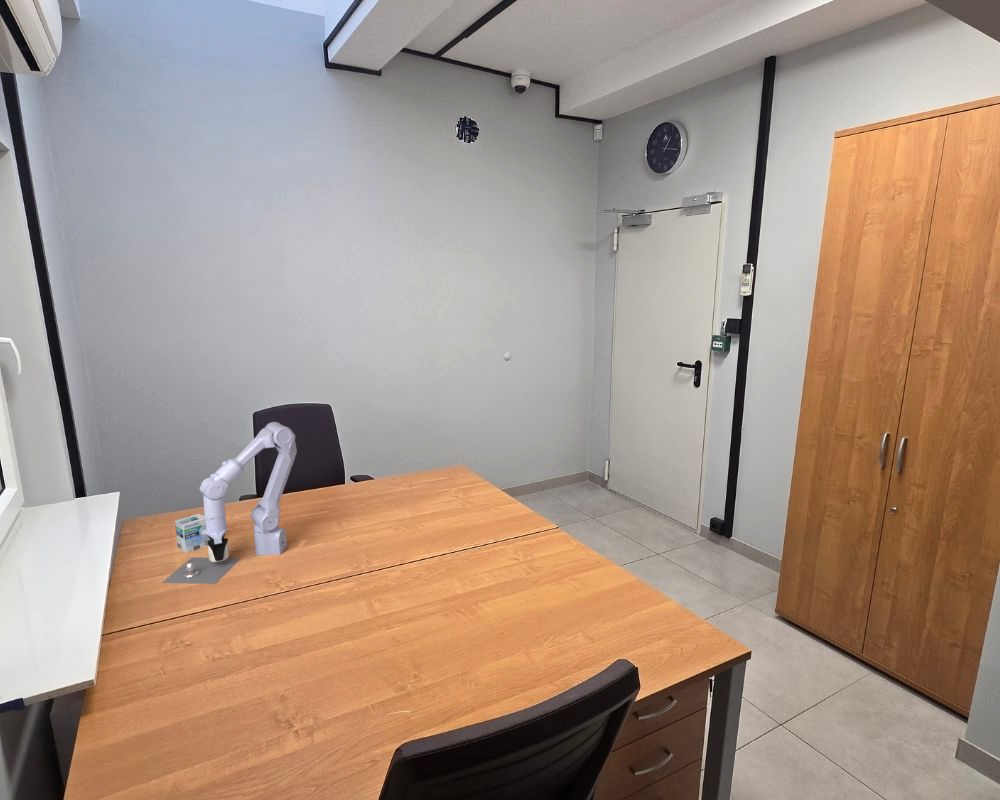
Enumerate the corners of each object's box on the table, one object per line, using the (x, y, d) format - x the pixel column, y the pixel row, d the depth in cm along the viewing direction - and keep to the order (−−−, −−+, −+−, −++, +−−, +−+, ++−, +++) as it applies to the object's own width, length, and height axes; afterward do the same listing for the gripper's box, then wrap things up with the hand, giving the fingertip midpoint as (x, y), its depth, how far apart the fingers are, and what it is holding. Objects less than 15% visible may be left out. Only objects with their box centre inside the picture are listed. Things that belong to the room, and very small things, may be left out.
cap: (231, 554, 177) (230, 541, 176) (223, 561, 172) (221, 548, 171) (215, 553, 177) (213, 540, 176) (206, 561, 172) (205, 548, 171)
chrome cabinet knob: (202, 571, 170) (201, 559, 170) (194, 578, 166) (193, 566, 165) (188, 571, 170) (186, 559, 170) (179, 578, 166) (178, 565, 165)
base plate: (241, 561, 179) (240, 558, 179) (215, 586, 163) (215, 583, 163) (191, 560, 179) (191, 557, 179) (161, 585, 163) (161, 582, 163)
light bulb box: (185, 556, 182) (182, 525, 180) (176, 550, 186) (173, 520, 184) (218, 545, 190) (216, 515, 188) (209, 539, 194) (206, 510, 192)
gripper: (199, 509, 176) (203, 549, 179) (201, 526, 164) (205, 568, 166) (224, 506, 180) (227, 544, 182) (227, 522, 167) (231, 563, 170)
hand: (218, 556), depth 175 cm, fingers closed on cap, 5 cm apart
